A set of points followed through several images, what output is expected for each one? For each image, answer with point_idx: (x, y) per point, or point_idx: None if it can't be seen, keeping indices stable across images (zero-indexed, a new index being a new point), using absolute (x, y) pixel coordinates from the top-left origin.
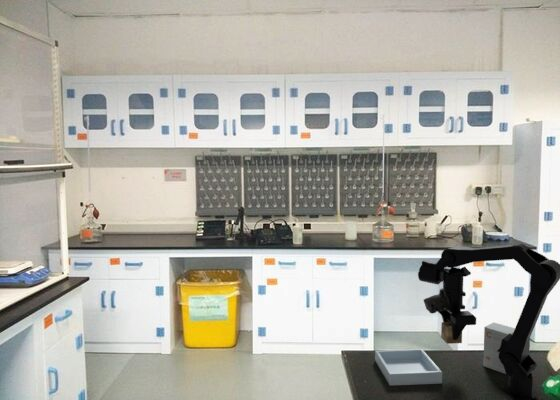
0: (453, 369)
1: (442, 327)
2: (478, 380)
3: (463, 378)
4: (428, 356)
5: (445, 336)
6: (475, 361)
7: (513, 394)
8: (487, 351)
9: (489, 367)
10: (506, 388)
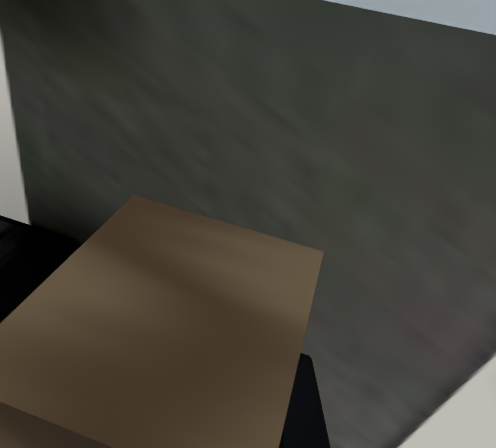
0: (289, 166)
1: (243, 384)
2: None
3: (176, 145)
4: (388, 10)
5: (159, 257)
6: (333, 328)
7: (14, 232)
8: None
9: None
10: (57, 245)
